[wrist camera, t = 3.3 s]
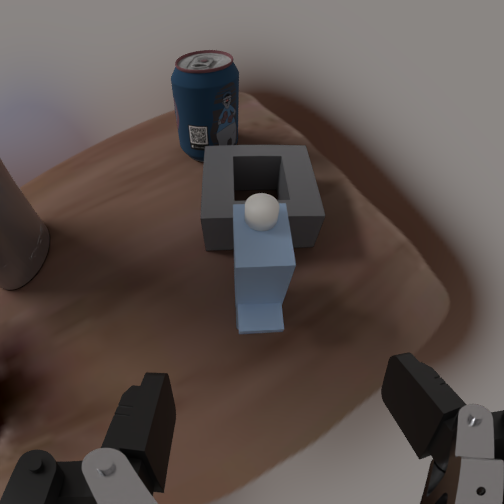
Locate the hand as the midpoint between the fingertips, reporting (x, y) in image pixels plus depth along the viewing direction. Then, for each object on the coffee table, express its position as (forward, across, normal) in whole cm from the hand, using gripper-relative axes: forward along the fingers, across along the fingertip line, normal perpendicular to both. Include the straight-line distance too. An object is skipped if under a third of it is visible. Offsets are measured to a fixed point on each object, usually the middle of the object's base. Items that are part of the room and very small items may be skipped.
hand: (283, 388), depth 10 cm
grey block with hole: (+22, -1, -4) cm, 22 cm away
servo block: (+15, 0, +3) cm, 15 cm away
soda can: (+29, +4, -11) cm, 32 cm away
